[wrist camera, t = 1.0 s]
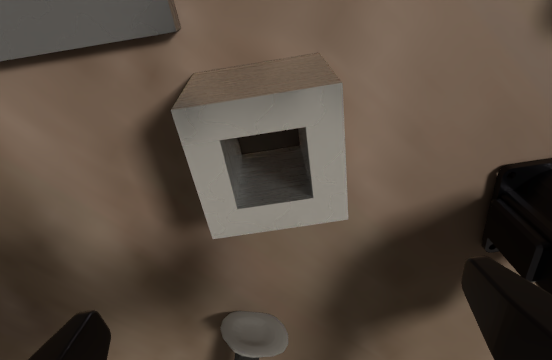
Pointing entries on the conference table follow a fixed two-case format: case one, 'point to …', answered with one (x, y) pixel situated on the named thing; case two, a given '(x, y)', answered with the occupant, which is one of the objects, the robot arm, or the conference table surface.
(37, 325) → the conference table surface
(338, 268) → the conference table surface
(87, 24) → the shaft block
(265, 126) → the grey hollow square block
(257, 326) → the hose
